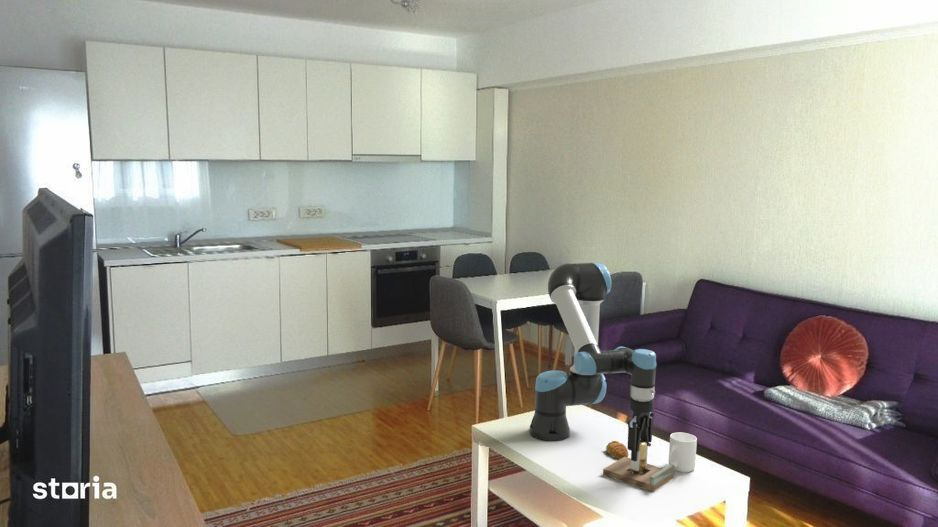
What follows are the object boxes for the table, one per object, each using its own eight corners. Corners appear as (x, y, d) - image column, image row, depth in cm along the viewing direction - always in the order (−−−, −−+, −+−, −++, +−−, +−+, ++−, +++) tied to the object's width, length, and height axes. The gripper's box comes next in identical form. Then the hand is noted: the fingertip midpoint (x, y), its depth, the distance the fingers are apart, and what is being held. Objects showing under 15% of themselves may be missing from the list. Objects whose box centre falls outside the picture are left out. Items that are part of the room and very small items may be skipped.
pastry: (633, 459, 247) (633, 449, 246) (615, 461, 245) (615, 451, 245) (621, 449, 256) (621, 439, 255) (603, 451, 254) (604, 440, 254)
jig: (602, 474, 233) (603, 461, 233) (624, 462, 244) (625, 449, 243) (653, 491, 222) (654, 478, 221) (673, 477, 232) (674, 464, 231)
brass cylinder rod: (629, 471, 232) (630, 442, 231) (635, 467, 236) (637, 438, 234) (641, 475, 229) (642, 445, 228) (647, 471, 233) (649, 442, 231)
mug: (657, 469, 239) (659, 438, 237) (677, 460, 246) (679, 430, 245) (679, 477, 232) (681, 446, 231) (700, 468, 240) (701, 437, 239)
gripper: (639, 407, 220) (635, 478, 223) (665, 394, 233) (661, 462, 236) (617, 401, 225) (614, 471, 228) (644, 389, 238) (641, 456, 241)
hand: (638, 467), depth 232 cm, fingers closed on brass cylinder rod, 4 cm apart
